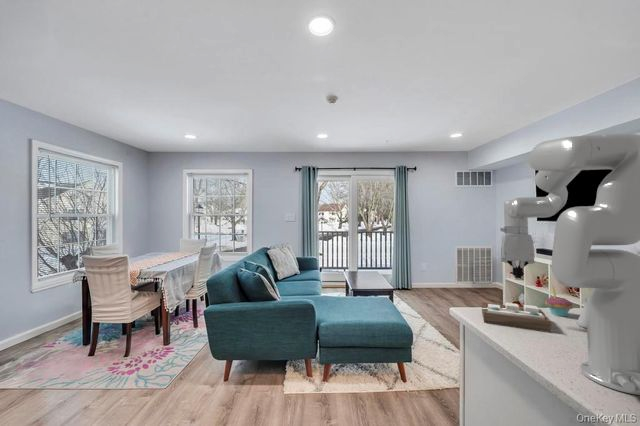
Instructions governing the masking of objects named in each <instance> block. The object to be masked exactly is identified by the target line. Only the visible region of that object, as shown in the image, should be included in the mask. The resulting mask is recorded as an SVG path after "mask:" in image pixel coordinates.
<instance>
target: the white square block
mask: <svg viewBox="0 0 640 426" xmlns="http://www.w3.org/2000/svg"><path fill="white" fill-rule="evenodd" d="M493 304H494V303H489V304H488V307H494V308H500V306H499V305H500V304H497V305H493Z"/></svg>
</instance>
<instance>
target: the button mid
mask: <svg viewBox="0 0 640 426" xmlns="http://www.w3.org/2000/svg"><path fill="white" fill-rule="evenodd" d="M504 305H505V308H506V309H510V310H518V311H519V307H520V306H519V304H518V303H513V302H512V303H511V302H505V303H504Z"/></svg>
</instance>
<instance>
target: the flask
mask: <svg viewBox="0 0 640 426" xmlns="http://www.w3.org/2000/svg"><path fill="white" fill-rule="evenodd" d="M587 299H588V298H582V300H583V302H584V303H583V308H582V311H581V312H580V315H579V317H578V318H577V321H576V325H578V326H579V327H581V328H584V329H587V314H586V303H587Z"/></svg>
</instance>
